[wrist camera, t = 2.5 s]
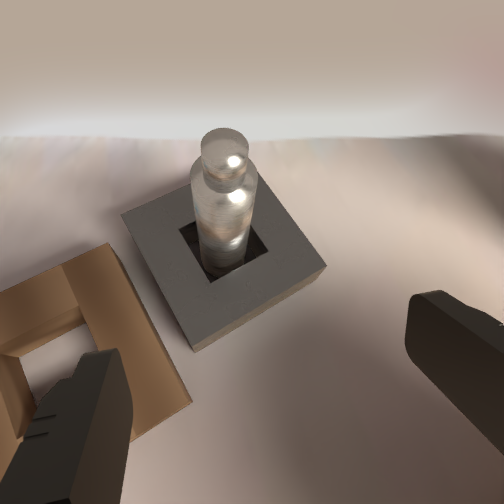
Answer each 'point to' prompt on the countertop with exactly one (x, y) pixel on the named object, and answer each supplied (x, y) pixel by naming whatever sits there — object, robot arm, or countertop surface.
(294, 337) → the countertop surface
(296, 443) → the countertop surface
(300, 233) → the socket block
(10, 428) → the rack block
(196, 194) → the steel pin
